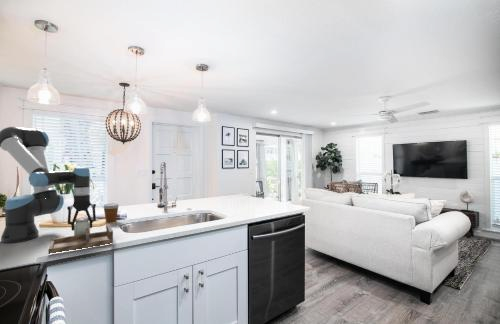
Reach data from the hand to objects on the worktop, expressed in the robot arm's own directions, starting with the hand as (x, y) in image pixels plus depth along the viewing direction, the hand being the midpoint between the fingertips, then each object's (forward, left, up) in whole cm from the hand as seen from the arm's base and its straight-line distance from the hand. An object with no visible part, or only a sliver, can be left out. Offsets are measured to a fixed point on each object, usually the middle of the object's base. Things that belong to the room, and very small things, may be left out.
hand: (82, 234), depth 139 cm
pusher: (+2, -16, 0) cm, 16 cm away
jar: (0, 0, -1) cm, 1 cm away
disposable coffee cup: (+17, +26, -1) cm, 31 cm away
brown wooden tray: (0, -16, -1) cm, 16 cm away
